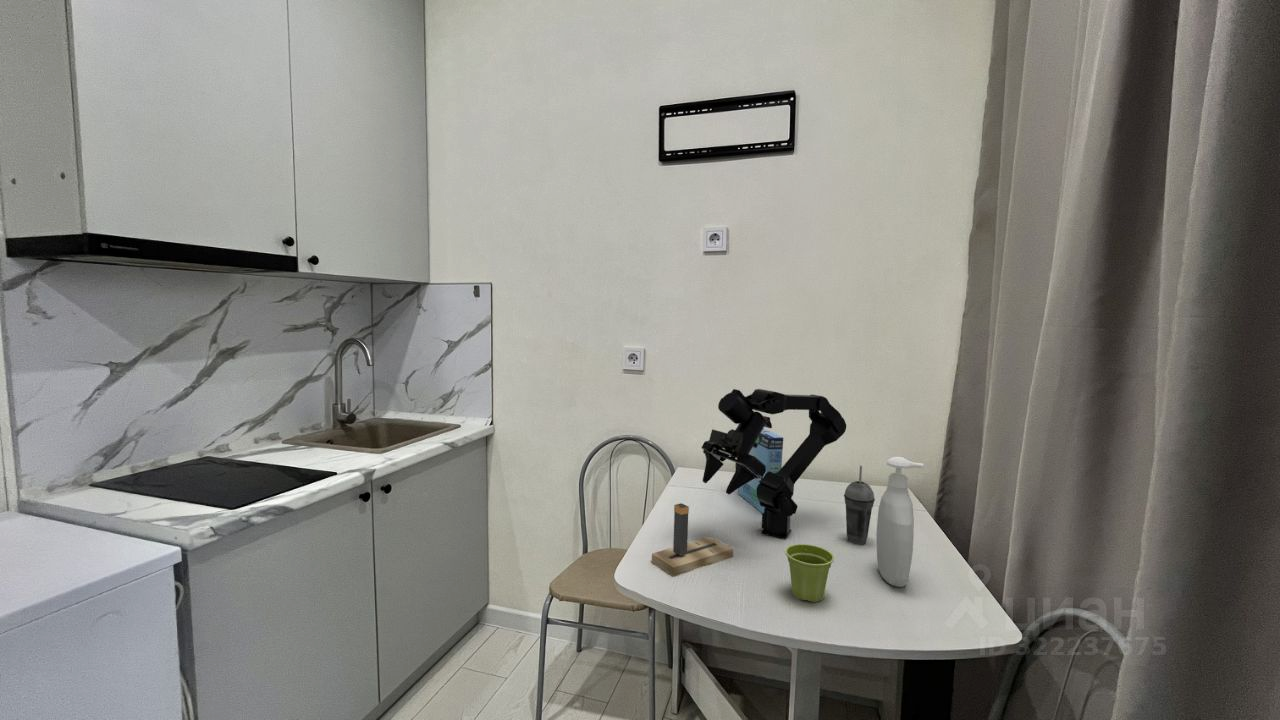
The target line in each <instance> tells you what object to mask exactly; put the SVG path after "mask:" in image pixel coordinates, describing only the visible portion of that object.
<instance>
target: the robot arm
mask: <svg viewBox="0 0 1280 720" xmlns="http://www.w3.org/2000/svg"><path fill="white" fill-rule="evenodd" d="M717 406H718V410H719V412H721V413H722V414H723V415H724V416H725V417H727V418H728V419H729V420H730V421H731V422H733V423H734V424H735V425H737V427H736V428H735V429H732V428H731V429H729V430H728V431H727V432H724V431H720V430H717V429H713V428H712V429H711V432H710V436H709V439H708V440H706V441H704V443H702V446H701V447H700V448H701V449H702V453H703V454H704V456H705V460H706V461H705V467H704V472H703V476H702V483H704V484H707V483H708V482H709V481H711V479H712V478H713V477H714V476H715V475H716V474H717V472H719V470H720V469H721V468H722V467H723V466H724V461H726V460H728V461H731V462H733V463H735V464H734V465H735V471H734V473H733V475H732V477H731V479H730V482H728V485H727V488H726V491H725V493H726V494H727V495H731V494H732V493H734V492H735V491H738V488H740V487H741V486H743V485H744V484H746V483H748V482H750V481H751V480H753V479H757V478H758V477H757V476H759V477H763V476H764V474H765V472H766V466H765V465H764V464H763V463H762V462H761V461H759V460H758V459H757V458H756V457H755V456H752V455H749V453H750V451H751V449H752V447H754V448H757V446H758V444H757V443H755V442H756V440H757V439H758V437H759V435H760V433H761V432H762V430H763V428H764V429H765V428H768V429H772V428H773V424H772V422H771V417H769V416H766V415H763V414H762V413H765V414H770V415H777V414H781V413H783V412H785V411H790V410H793V411H794V410H795V411H799V410H800V411H808V418H809V420H810V421H811V423H810V424H809V433H808V435H807V437H806V438H805V439H804V440H803V441H802V443H801V444H800V445H799V447H797V449H796V450H795V451H794V452H793V454H792V455H791V456H790V457H789V458H788V459H787V461H786V462H785V463H784V465H783V466H782V468H781V469H780V471H778V472H777V473H772V472H770V471H768V472H767V473H766V474H765V476H764V477H763V478H762V479H761V480H760V481H759V485H758V486H757V489H756V490H757V498H758V500H759V503H760V506H763V507H765V509H764V513H761V529H762V530H761V531H760V532H761V533H760V534H762V535H767V536H771V537H776V538H779V539H784V540H785V539H787V538H788V537H789V535H790V534H791V532H792V528H791V517H793V515H794V514H797V513H796V512H797V509H798V504H797V503H796V502H795V501H794V499H792V498H793V496H794V491H795V484H796V483H797V482H798V480H799V478H800V477H801V476H802V475H803V474H804V472H805V471H806V470H807V469H808V467H809V466H810V465H811V464H812V463H813V461H814V460H815V458H816V457H818V455H819V454H820V452H821V451H822V450H823V448H824V447H826V446H827V445H831V444H832V443H835V442H837V440H839V439H840V438H841V437H842V436H843V435H845V432H846V430H847V423H846V421H845V418H844V417H843V416H842V414H841V413H840V412H839V410H837V409H836V408H835V407H834V406H833V405H832V404H831V403H830V401H829V400H828V398H827V397H825V396H823V395H818V394H809V395H808V394H786V393H785V394H784V393H781V392H778V391H773V390H768V389H761V388H755V389H754V390H753V392H752V393H750V394H748V395H746V396H745V395H744V394H743V392H742V391H741V390H740V389H736V388H733V389H732V391H731V392H729V393H727V394H725V395H724V396H723V397H722V398H720V399H719V402H718V405H717ZM756 475H757V476H756Z"/></svg>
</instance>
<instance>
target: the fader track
mask: <svg viewBox="0 0 1280 720" xmlns="http://www.w3.org/2000/svg"><path fill="white" fill-rule="evenodd" d="M733 557H734V547H731V546H730V545H728V544H726V543H723V542H722V541H720V540H718V539H716V538H714V537H712V536H708V537H703V538H700V539H697V540H694V541H689V542H687V554H685V555H682V556H679V555H678V554H676V553H674V552H673V547H670V548H666V549H663V550H659V551H656V552H653V553H651V563H652V564H654V565H655V566H657V567H658V568H660V570H661V569H662V570H663V571H664V572H666V573H667V574H669V575H670V576H672V577H676V576H678V575H679V576H680V575H682V574H686V573H688V571H689V572H692V571H694V569H695V570H697V568H698V569H701V568H703V566H704V567H707V566H709V565H712V563H713V564H715V563H719V562H721V560H722V561H724V560H727V559H730V558H733ZM718 561H719V562H718ZM706 565H707V566H706ZM700 567H701V568H700ZM691 570H692V571H691Z"/></svg>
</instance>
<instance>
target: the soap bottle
mask: <svg viewBox="0 0 1280 720" xmlns="http://www.w3.org/2000/svg"><path fill="white" fill-rule="evenodd" d="M886 465H887V466H889V467H892V468H895V472H892V473H890V474H889V475H888V481H887V482H888V484H887V486H886V489H885V491H884V492H883V494H882V495H881V497H880V502H879V505H878V510H877V520H876V534H875V536H876V560H877V568H878V571H879V573H880V575H881V577H882V578H883V579H884V580H885V581H886V582H887V583H888V584H889V585H891V586H893V587H898V588H899V587H900V588H902V587H904V586H906V585H907V583H908V581H909V578H910V573H911V572H910V571H911V565H912V562H913V561H912V560H913V553H914V538H915V537H914V534H915V533H914V529H915V527H914V526H915V524H914V523H915V516H914V507H913V505H914V504H913V502H912V498H911V497H910V494H909V490H908V481H909V480H908V477H907V476H906V475H905V474H904V473H902V469H912V468H918V469H922V468H923V467H924V465H925V464H924V463H922V462H913V461H911V460H908V459H907V458H905V457H902V456H893V457H891V458H889V459H888V460H887V461H886Z"/></svg>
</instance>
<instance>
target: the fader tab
mask: <svg viewBox="0 0 1280 720" xmlns="http://www.w3.org/2000/svg"><path fill="white" fill-rule="evenodd" d="M673 505H674V507H673V508H674V509H673V513H674V516H673V518H674V519H673V546H672V548H673V552H674V553H676V554H678V555H679V556H682V555H685V554H687V543H688V537H689V535H688V533H689V513H690V512H689V511H690V506H688V505H686V504H684V503H682V502H680V503H676V504H673Z"/></svg>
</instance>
